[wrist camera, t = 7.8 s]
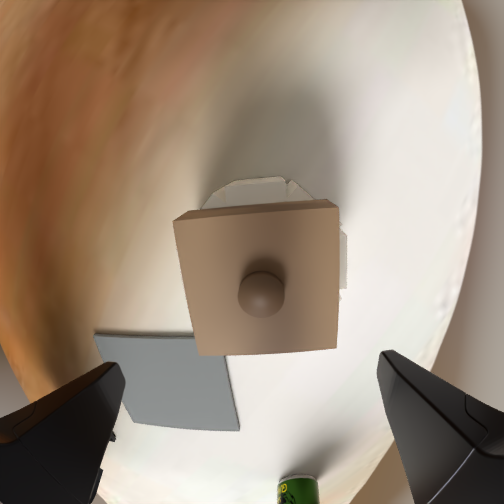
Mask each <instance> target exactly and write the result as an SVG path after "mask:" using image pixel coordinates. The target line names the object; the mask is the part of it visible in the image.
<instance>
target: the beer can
mask: <svg viewBox="0 0 504 504" xmlns="http://www.w3.org/2000/svg"><path fill="white" fill-rule="evenodd" d="M277 504H320V502H319V491H318V482H317V481H316V479H315V478H314V477H313V476H311V475H306V474H298V475H291V476H288V477H285V478H283V479H281V481H280V482H279V484H278V499H277Z"/></svg>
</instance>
